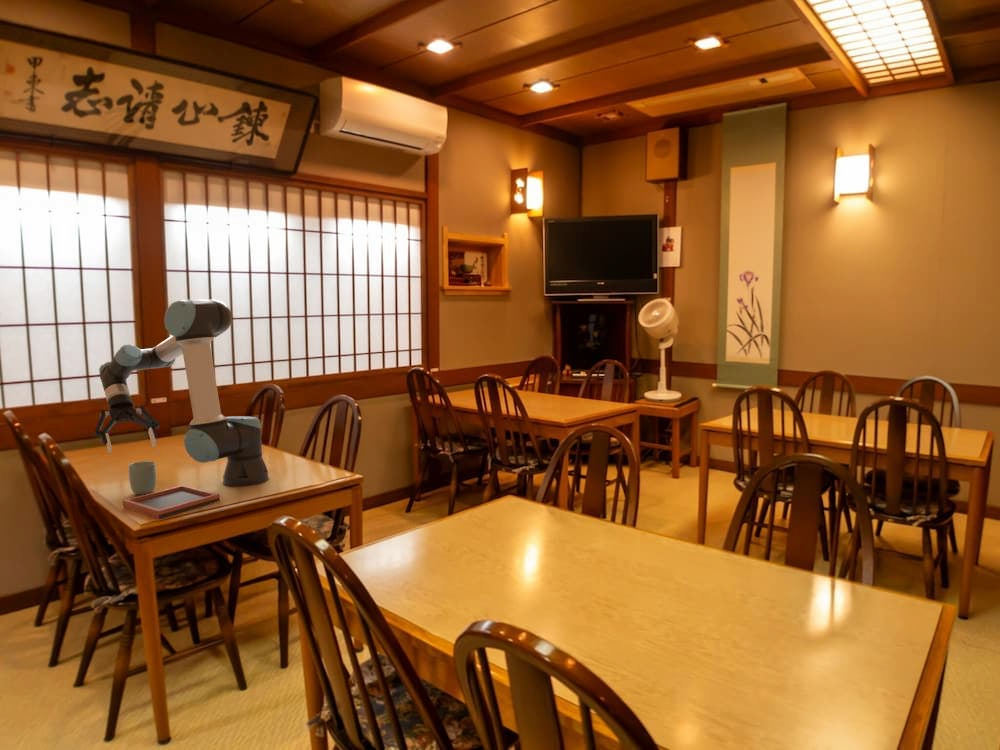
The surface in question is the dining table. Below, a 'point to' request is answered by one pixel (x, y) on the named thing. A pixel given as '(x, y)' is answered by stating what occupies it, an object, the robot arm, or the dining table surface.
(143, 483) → the cup
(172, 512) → the tray
